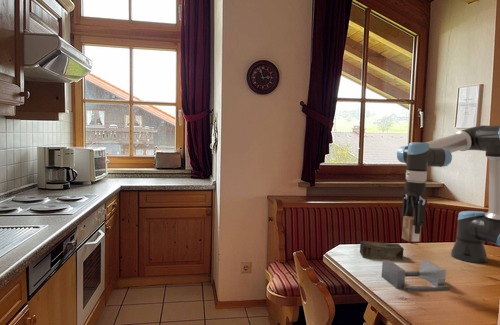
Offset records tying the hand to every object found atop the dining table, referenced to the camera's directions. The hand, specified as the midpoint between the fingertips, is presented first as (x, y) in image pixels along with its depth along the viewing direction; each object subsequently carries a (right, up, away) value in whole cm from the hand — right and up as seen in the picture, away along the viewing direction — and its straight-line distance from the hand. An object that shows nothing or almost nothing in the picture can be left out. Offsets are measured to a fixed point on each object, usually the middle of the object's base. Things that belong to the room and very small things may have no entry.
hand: (411, 239), depth 150 cm
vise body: (+1, -17, +1) cm, 17 cm away
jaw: (+9, -18, +2) cm, 20 cm away
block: (0, 0, 0) cm, 0 cm away
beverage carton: (-1, -15, +32) cm, 36 cm away
